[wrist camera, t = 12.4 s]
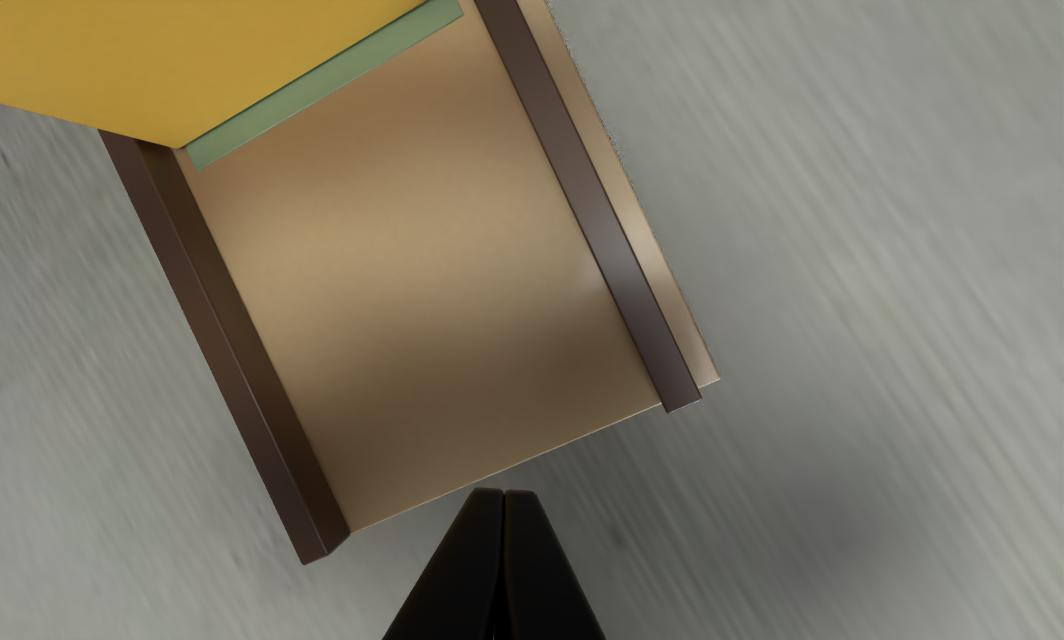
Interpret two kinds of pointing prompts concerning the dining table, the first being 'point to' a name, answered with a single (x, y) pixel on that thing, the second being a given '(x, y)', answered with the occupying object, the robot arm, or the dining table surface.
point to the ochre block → (169, 57)
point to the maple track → (416, 267)
